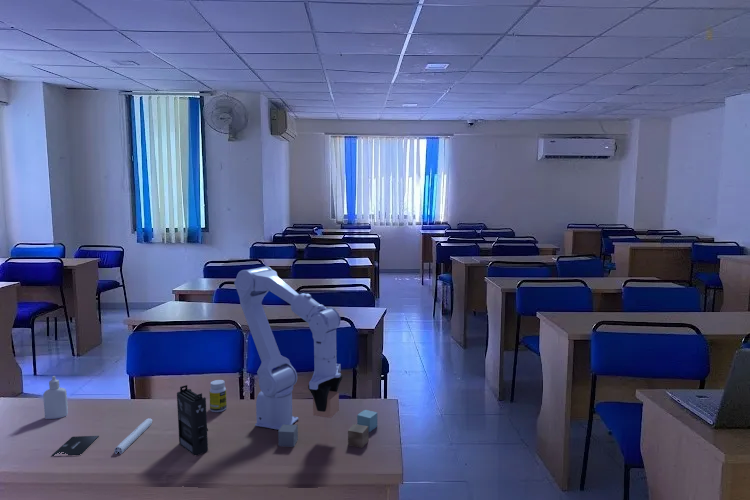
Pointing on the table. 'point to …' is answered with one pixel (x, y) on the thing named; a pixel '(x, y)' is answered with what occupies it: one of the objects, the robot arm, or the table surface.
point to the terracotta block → (328, 406)
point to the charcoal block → (288, 435)
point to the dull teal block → (367, 419)
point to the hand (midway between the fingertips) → (326, 406)
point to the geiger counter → (192, 421)
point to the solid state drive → (76, 445)
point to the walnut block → (358, 435)
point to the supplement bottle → (218, 396)
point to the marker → (133, 436)
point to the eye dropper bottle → (55, 400)
